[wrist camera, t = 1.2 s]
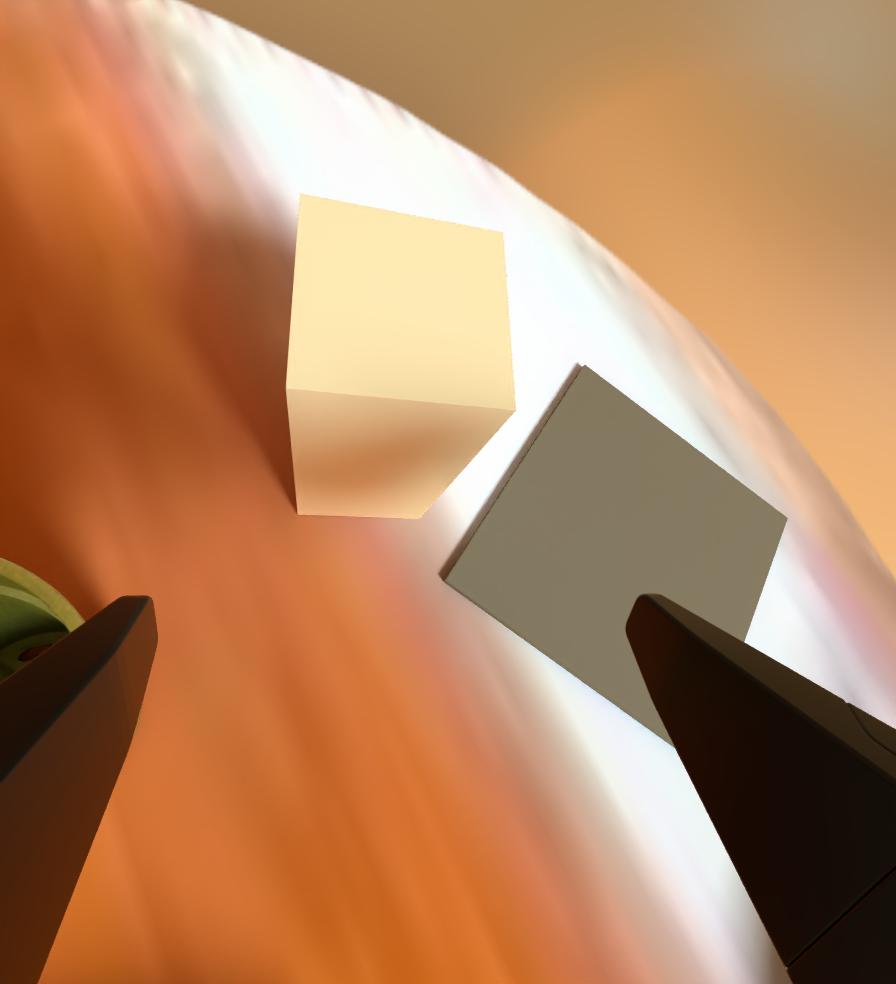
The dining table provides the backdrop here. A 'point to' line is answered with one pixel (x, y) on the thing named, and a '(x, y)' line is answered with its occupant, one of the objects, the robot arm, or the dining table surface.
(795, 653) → the dining table surface
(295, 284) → the tall cream pillar
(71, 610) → the plant pot
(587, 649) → the mat
